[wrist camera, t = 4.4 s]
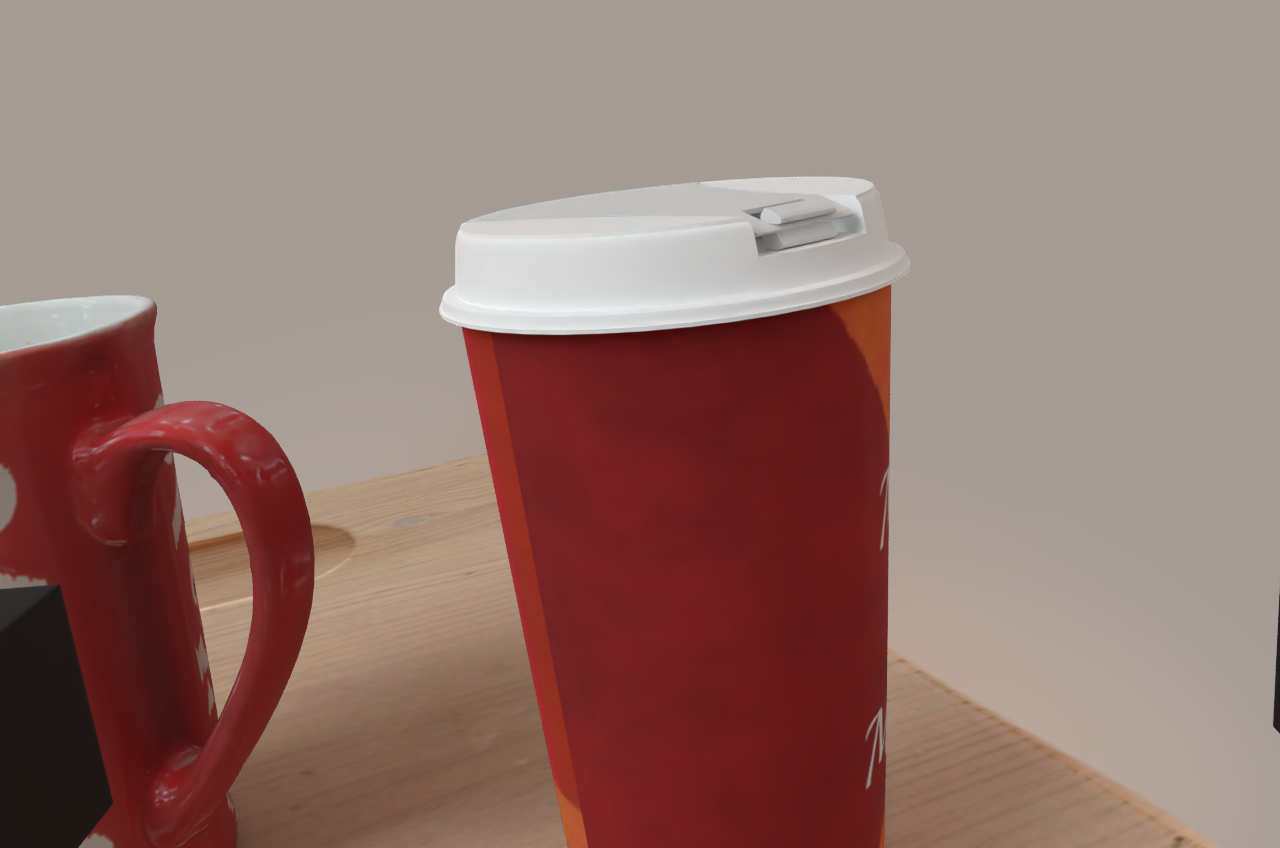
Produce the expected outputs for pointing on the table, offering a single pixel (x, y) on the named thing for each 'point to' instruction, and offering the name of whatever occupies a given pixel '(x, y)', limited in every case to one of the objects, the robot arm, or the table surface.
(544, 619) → the coffee cup
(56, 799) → the robot arm
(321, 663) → the table surface
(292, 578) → the mug
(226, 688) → the table surface
